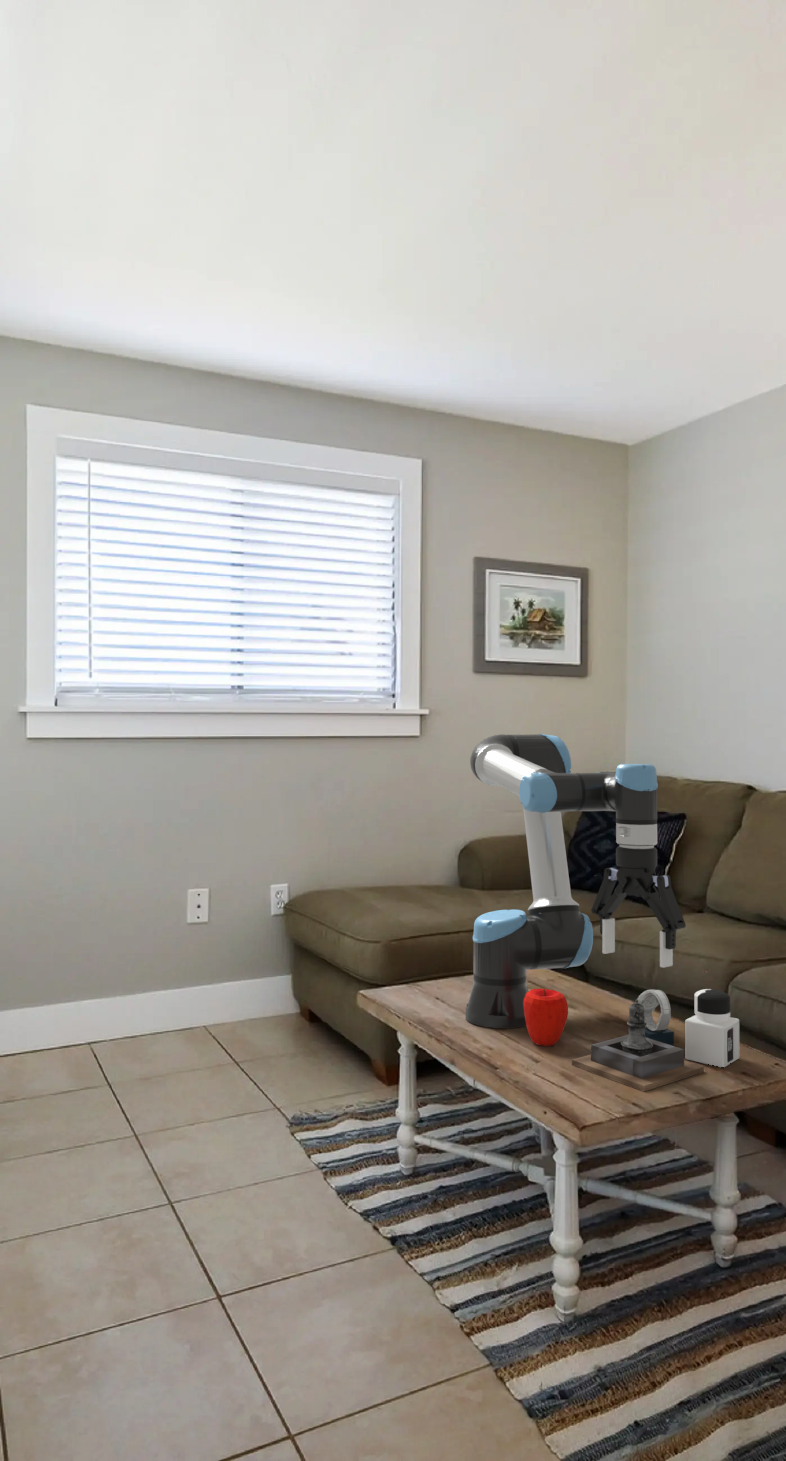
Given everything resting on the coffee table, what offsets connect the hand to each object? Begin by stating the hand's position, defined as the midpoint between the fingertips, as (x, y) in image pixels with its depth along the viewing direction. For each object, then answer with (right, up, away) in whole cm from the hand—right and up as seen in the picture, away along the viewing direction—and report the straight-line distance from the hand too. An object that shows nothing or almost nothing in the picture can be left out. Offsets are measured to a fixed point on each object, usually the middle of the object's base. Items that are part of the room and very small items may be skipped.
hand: (636, 959), depth 179 cm
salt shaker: (0, -20, 0) cm, 20 cm away
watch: (+7, -21, +14) cm, 26 cm away
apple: (-15, -21, +15) cm, 29 cm away
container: (+16, -21, +5) cm, 27 cm away
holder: (0, -20, 0) cm, 20 cm away
